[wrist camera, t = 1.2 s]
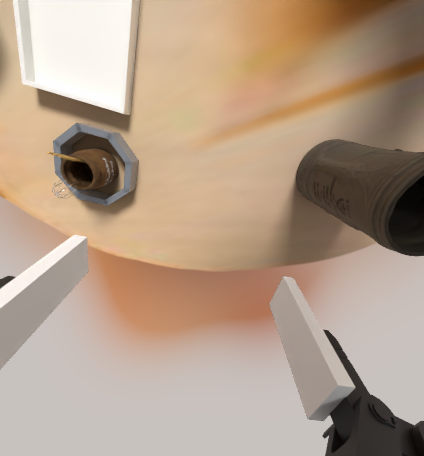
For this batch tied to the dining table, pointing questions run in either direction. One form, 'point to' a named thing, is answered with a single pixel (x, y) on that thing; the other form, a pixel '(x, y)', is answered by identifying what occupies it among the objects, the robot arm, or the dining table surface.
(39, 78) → the tray
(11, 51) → the dining table surface
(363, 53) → the dining table surface
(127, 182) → the grey octagonal ring
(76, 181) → the utensil holder
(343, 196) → the beer stein
